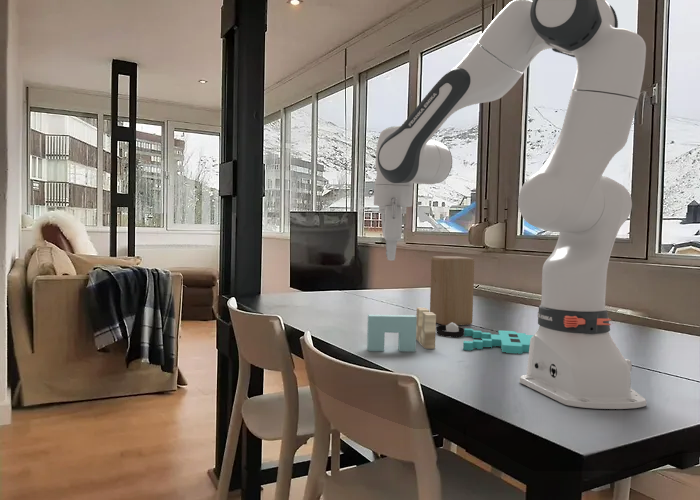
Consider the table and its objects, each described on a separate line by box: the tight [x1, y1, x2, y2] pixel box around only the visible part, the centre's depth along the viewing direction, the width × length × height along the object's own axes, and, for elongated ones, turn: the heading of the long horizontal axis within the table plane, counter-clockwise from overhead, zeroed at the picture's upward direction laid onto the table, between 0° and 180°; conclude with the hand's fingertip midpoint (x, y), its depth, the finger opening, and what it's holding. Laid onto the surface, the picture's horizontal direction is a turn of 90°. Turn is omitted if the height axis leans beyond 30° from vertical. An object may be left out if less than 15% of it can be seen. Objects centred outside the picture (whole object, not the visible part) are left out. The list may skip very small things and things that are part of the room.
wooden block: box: [429, 255, 475, 326], centre depth 173 cm, size 10×10×20 cm
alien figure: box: [462, 327, 535, 355], centre depth 143 cm, size 20×2×20 cm
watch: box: [436, 322, 465, 338], centre depth 153 cm, size 8×5×4 cm, turn 57°
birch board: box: [415, 307, 437, 350], centre depth 141 cm, size 12×2×8 cm, turn 4°
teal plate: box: [366, 314, 417, 352], centre depth 132 cm, size 2×11×8 cm, turn 94°
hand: (390, 258), depth 133 cm, fingers open, 8 cm apart
